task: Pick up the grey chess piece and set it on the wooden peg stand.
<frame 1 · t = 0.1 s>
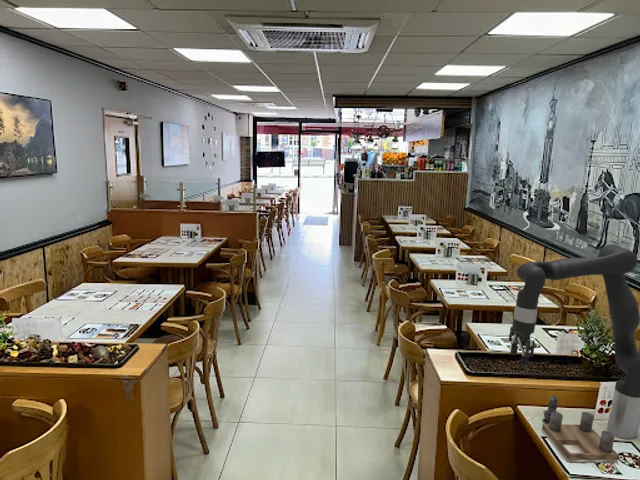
hand: (518, 359, 179), 29 cm above the table, tool pointing down, fingers open, 8 cm apart
grey chess piece: (549, 422, 193), on the table
wooden peg stand: (577, 446, 178), on the table
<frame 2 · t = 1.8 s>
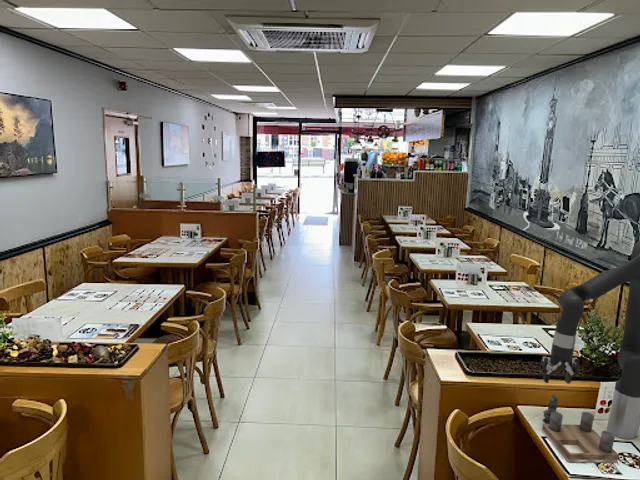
hand: (556, 382, 189), 17 cm above the table, tool pointing down, fingers open, 8 cm apart
nothing on the table moved.
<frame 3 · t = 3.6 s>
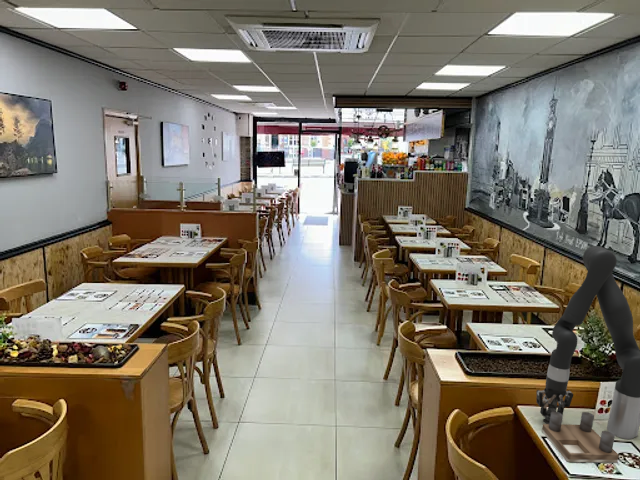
hand: (551, 415, 192), 3 cm above the table, tool pointing down, fingers closed on grey chess piece, 6 cm apart
grey chess piece: (549, 422, 193), on the table, touching gripper
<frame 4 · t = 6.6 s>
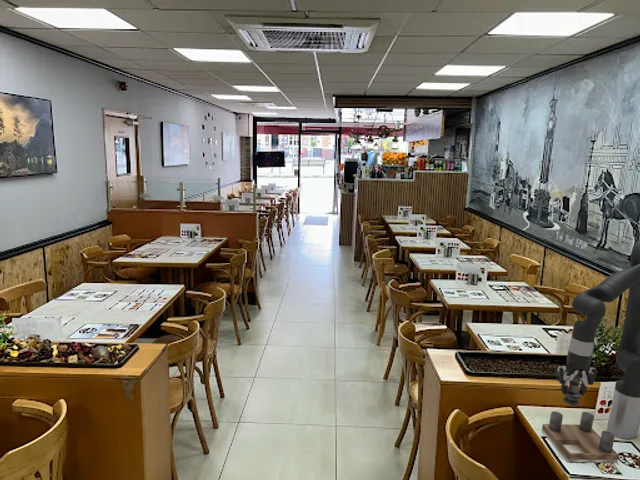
hand: (572, 393, 176), 20 cm above the table, tool pointing down, fingers closed on grey chess piece, 6 cm apart
grey chess piece: (571, 401, 176), point 16 cm above the table, touching gripper
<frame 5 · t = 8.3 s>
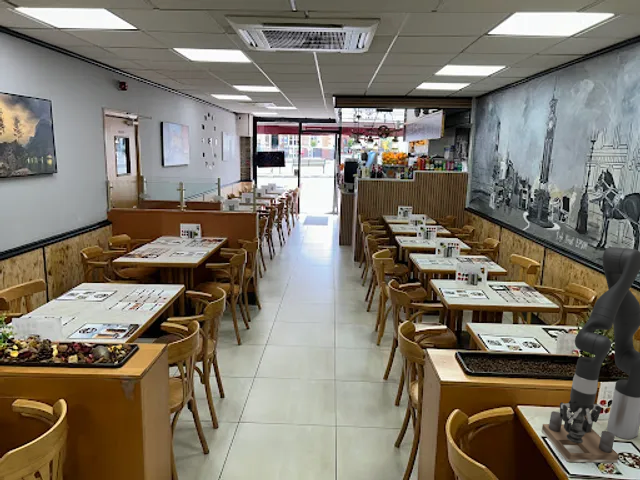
hand: (575, 431, 172), 9 cm above the table, tool pointing down, fingers closed on grey chess piece, 6 cm apart
grey chess piece: (574, 439, 172), point 6 cm above the table, touching gripper
when the fingers open (5 cm above the table, at t = 9.6 s): grey chess piece stays where it is, resting on wooden peg stand.
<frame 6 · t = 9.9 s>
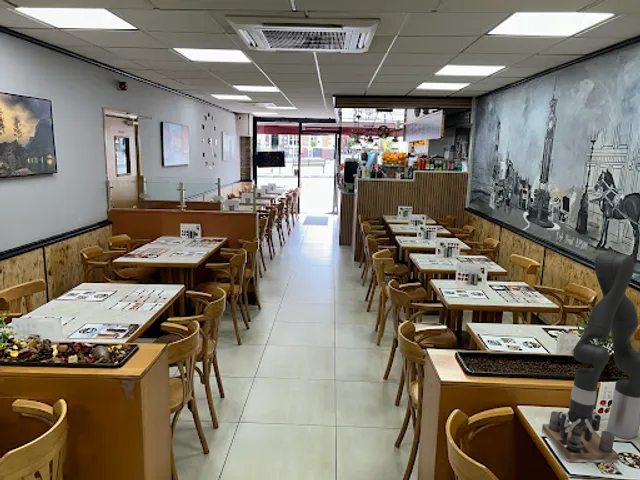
hand: (575, 440, 172), 5 cm above the table, tool pointing down, fingers open, 8 cm apart
grey chess piece: (573, 451, 173), point 1 cm above the table, touching wooden peg stand
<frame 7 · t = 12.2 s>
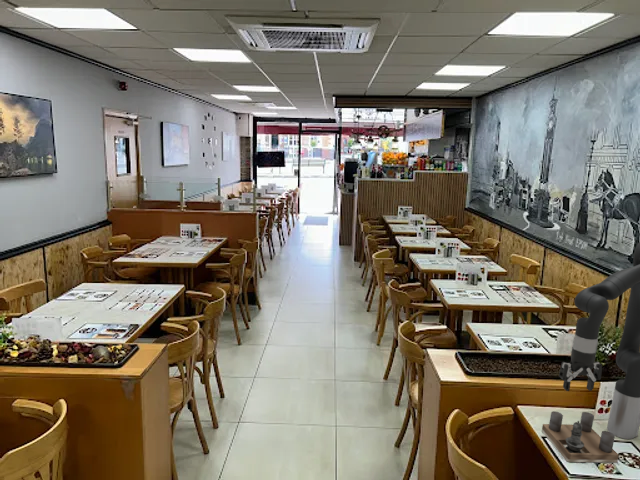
hand: (577, 389, 175), 22 cm above the table, tool pointing down, fingers open, 8 cm apart
nothing on the table moved.
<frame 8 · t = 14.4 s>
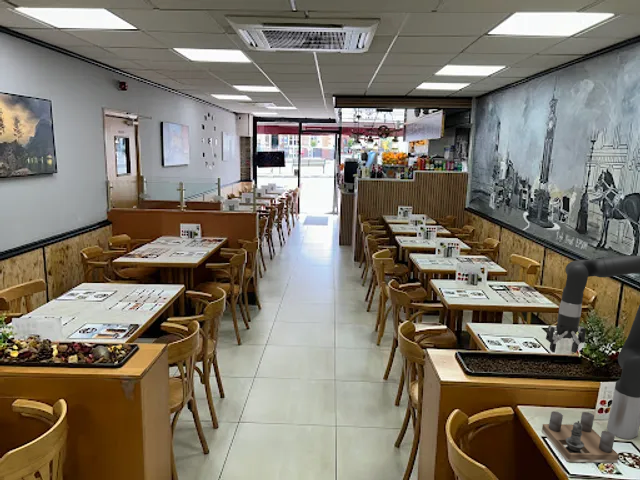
hand: (563, 352, 191), 28 cm above the table, tool pointing down, fingers open, 8 cm apart
nothing on the table moved.
at the end: grey chess piece 0.1 cm from the target spot on the wooden peg stand, point 0.8 cm above the wooden peg stand's base; grey chess piece tilted 0°; the gripper is holding nothing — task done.
